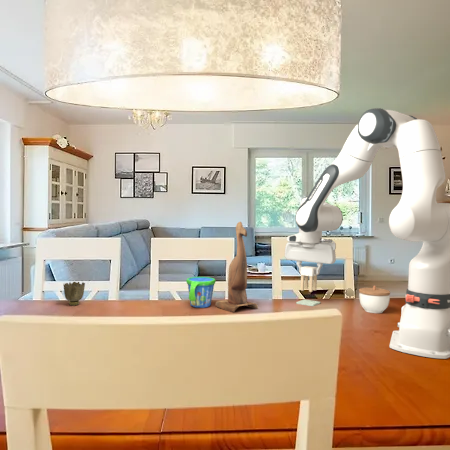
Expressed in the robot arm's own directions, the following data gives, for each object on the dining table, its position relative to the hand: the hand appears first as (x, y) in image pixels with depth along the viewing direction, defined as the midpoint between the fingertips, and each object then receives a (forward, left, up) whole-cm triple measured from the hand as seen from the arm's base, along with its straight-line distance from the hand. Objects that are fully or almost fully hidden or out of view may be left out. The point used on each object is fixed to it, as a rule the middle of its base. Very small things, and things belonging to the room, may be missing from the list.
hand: (309, 273), depth 166 cm
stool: (0, 0, -7) cm, 7 cm away
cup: (-60, +65, -12) cm, 89 cm away
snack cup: (-31, +29, -12) cm, 44 cm away
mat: (0, 0, -12) cm, 12 cm away
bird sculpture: (-25, +17, -12) cm, 33 cm away
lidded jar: (+4, -24, -12) cm, 27 cm away
